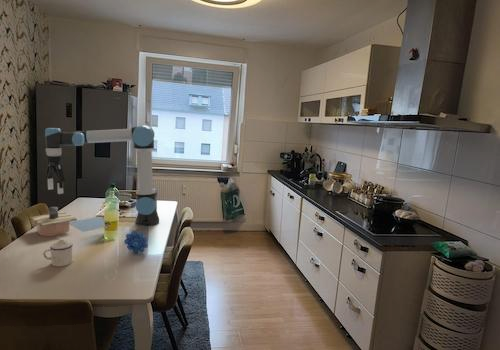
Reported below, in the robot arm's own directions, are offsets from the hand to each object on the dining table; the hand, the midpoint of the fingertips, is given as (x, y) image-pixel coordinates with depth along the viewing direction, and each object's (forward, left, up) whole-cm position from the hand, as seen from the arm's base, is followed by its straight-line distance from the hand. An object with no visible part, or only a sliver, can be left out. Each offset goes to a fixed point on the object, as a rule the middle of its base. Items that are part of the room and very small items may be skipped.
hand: (55, 191), depth 192 cm
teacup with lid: (-45, +17, -24) cm, 54 cm away
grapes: (-59, -15, -24) cm, 66 cm away
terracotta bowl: (0, +2, -24) cm, 24 cm away
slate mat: (-2, -20, -24) cm, 31 cm away
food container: (+25, -58, -24) cm, 68 cm away
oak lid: (0, +2, -17) cm, 17 cm away
